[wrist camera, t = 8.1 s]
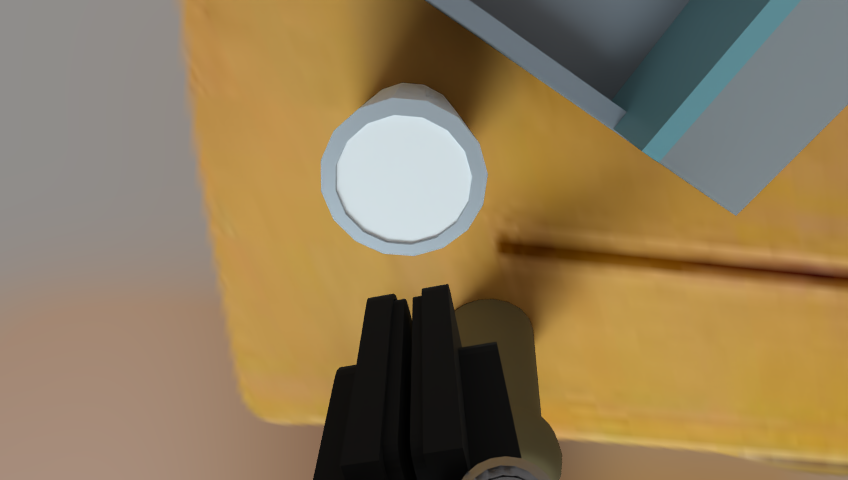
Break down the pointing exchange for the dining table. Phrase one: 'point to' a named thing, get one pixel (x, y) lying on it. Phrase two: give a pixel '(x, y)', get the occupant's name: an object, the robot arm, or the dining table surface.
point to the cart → (629, 54)
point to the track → (764, 106)
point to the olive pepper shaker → (514, 374)
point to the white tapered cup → (404, 172)
